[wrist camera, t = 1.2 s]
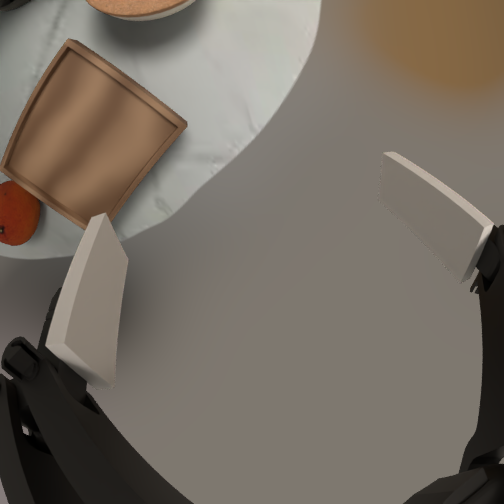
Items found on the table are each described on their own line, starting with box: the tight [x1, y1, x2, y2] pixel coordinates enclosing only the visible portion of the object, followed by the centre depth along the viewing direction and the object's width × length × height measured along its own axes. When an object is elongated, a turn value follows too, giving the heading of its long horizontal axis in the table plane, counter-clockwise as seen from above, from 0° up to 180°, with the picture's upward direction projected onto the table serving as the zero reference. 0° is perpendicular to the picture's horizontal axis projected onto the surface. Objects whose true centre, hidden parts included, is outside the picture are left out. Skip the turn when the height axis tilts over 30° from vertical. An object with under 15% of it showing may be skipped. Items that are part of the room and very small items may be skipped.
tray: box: [0, 39, 187, 230], centre depth 24 cm, size 16×16×7 cm
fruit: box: [0, 181, 40, 246], centre depth 25 cm, size 9×9×8 cm
